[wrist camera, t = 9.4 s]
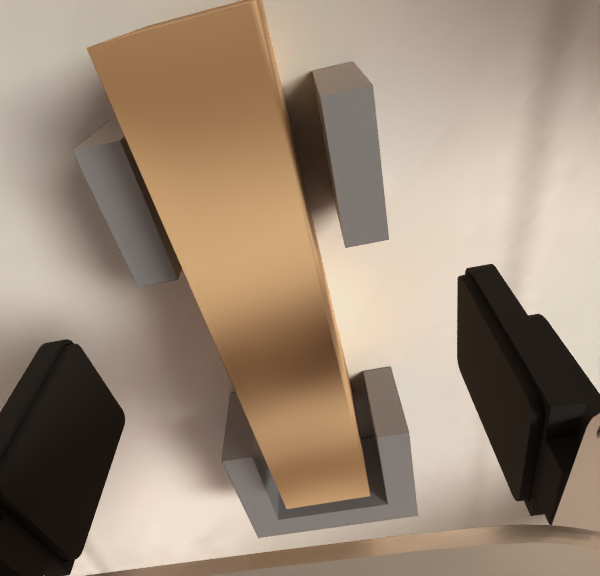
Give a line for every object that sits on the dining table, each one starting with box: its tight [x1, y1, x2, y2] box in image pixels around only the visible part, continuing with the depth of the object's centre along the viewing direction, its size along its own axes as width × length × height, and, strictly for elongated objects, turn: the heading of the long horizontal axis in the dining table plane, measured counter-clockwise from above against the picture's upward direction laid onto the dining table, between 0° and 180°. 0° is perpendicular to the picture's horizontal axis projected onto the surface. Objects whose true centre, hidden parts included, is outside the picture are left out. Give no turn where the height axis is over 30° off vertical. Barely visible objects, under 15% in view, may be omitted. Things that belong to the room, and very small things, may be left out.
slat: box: [87, 0, 370, 509], centre depth 15 cm, size 16×3×5 cm, turn 13°
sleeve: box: [72, 62, 389, 287], centre depth 13 cm, size 4×7×4 cm, turn 101°
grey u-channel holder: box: [222, 367, 418, 538], centre depth 20 cm, size 6×7×4 cm
